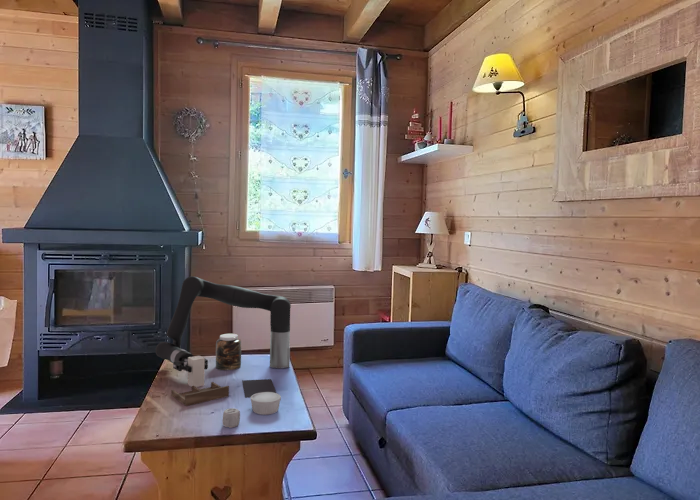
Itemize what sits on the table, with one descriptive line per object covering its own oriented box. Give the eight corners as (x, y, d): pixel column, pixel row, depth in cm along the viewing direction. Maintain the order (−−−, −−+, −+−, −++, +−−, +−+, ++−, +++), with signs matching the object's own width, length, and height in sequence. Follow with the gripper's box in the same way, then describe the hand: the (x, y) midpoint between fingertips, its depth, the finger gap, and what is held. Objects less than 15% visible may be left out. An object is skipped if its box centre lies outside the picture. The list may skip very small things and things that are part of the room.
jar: (215, 363, 248) (216, 332, 247) (240, 362, 250) (241, 332, 249) (215, 371, 236) (215, 338, 235) (241, 369, 239) (241, 338, 238)
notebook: (241, 383, 221) (244, 401, 201) (242, 380, 221) (244, 397, 201) (271, 382, 225) (277, 399, 204) (271, 378, 225) (277, 395, 204)
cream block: (187, 385, 214) (188, 357, 213) (199, 383, 217) (199, 355, 217) (192, 388, 210) (193, 360, 210) (204, 386, 214) (204, 358, 213)
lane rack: (171, 397, 201) (171, 385, 201) (212, 388, 212) (212, 377, 212) (186, 408, 191) (186, 395, 190) (228, 398, 202) (228, 386, 202)
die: (222, 427, 175) (222, 413, 175) (225, 421, 180) (225, 407, 180) (236, 428, 175) (237, 413, 175) (239, 422, 180) (240, 408, 180)
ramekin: (251, 404, 197) (252, 391, 196) (281, 404, 198) (281, 391, 197) (248, 416, 185) (248, 402, 185) (279, 416, 186) (280, 402, 186)
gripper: (166, 353, 219) (181, 362, 207) (198, 348, 229) (215, 356, 216) (165, 370, 220) (181, 380, 207) (197, 364, 229) (214, 374, 217)
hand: (198, 368), depth 212 cm, fingers open, 6 cm apart
